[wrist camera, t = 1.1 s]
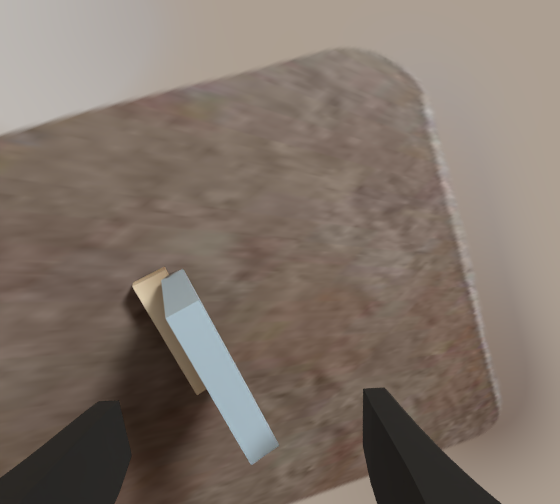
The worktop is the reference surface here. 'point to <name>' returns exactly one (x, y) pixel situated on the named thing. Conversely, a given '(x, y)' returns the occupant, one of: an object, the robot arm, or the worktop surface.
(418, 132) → the worktop surface
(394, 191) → the worktop surface
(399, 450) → the robot arm
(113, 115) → the worktop surface
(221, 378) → the panel
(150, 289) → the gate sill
